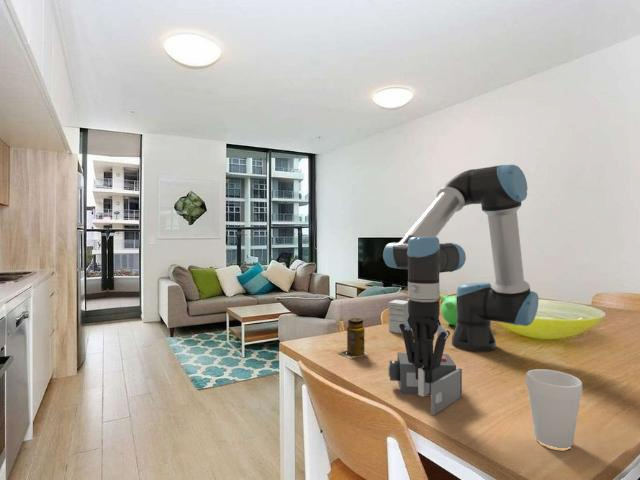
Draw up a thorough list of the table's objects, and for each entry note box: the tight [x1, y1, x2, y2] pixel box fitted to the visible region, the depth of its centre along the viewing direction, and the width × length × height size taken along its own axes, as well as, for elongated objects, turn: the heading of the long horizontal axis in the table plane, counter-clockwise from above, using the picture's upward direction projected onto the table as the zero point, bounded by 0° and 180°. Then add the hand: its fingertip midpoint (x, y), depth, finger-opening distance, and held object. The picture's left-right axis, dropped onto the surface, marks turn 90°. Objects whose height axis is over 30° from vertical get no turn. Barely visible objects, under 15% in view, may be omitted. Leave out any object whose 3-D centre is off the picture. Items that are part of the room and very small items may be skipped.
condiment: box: [337, 317, 370, 359], centre depth 130 cm, size 7×8×12 cm
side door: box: [430, 368, 463, 416], centre depth 90 cm, size 14×2×7 cm, turn 134°
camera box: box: [388, 352, 457, 396], centre depth 101 cm, size 17×9×9 cm, turn 84°
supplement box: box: [388, 299, 409, 335], centre depth 159 cm, size 7×7×13 cm
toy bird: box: [439, 293, 457, 327], centre depth 167 cm, size 18×17×15 cm
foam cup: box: [525, 368, 583, 448], centre depth 74 cm, size 10×9×13 cm
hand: (423, 394), depth 92 cm, fingers closed
